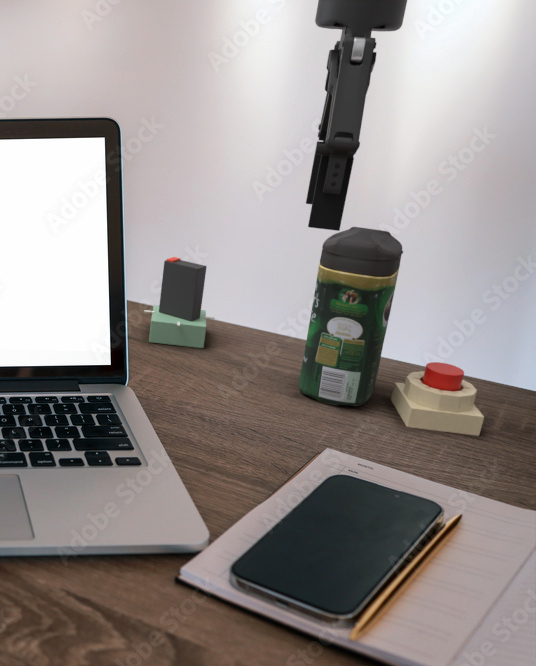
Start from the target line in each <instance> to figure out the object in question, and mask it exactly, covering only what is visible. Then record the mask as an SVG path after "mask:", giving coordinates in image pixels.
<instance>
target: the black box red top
mask: <svg viewBox="0 0 536 666" xmlns="http://www.w3.org/2000/svg"><path fill="white" fill-rule="evenodd" d="M206 274H207V265H203V264H199V263H195V262H190V261H186V260H182V259H181V258H180V257H176V256H172V257H169V258H166V260H164V262H163V270H162V278H161V279H162V280H161V288H160V296H159V305H158V306H159V312H161V313H164V314H168V315H171V316H175V317H178V318H182V319H185V320H189V321H193V320H196V319H198V318H200V313H201V310H202V306H203V296H204V289H205V281H206Z"/></svg>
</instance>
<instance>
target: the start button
mask: <svg viewBox="0 0 536 666" xmlns="http://www.w3.org/2000/svg"><path fill="white" fill-rule="evenodd" d="M424 371H425V372H424V376H423V380H422V383H423V384H425V385H427V386H429V387H432V388H435V389H439V390H444V391H453V392H454V391H460V387H461V384H462V380H464V376H465V371H464V370H463V369H462V368H460V367H459V366H456V365H453V364H450V363H446V362H438V361H437V362H436V361H434V362H433V361H432V362H427V363H426V365H425V368H424Z"/></svg>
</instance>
